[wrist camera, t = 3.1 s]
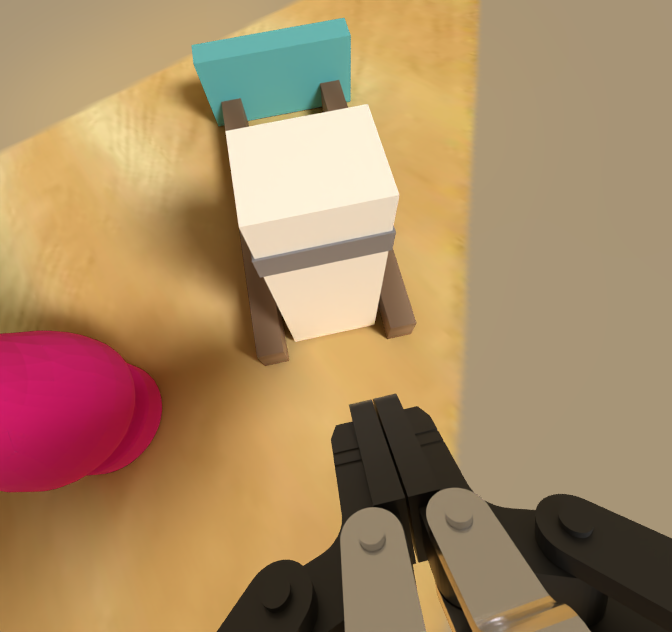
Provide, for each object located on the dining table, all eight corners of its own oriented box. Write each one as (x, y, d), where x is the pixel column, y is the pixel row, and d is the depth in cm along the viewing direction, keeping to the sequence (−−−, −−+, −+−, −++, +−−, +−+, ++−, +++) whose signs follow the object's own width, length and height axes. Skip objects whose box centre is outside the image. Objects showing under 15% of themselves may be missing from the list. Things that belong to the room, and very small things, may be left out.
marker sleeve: (293, 343, 22) (235, 230, 11) (283, 283, 23) (222, 129, 12) (376, 325, 22) (403, 196, 11) (360, 267, 24) (369, 101, 12)
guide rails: (265, 365, 22) (257, 357, 20) (227, 111, 30) (219, 88, 28) (410, 333, 22) (416, 323, 20) (336, 90, 30) (335, 66, 28)
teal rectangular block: (218, 126, 29) (193, 63, 24) (216, 108, 30) (191, 45, 25) (350, 101, 30) (350, 35, 25) (345, 84, 30) (344, 17, 26)
